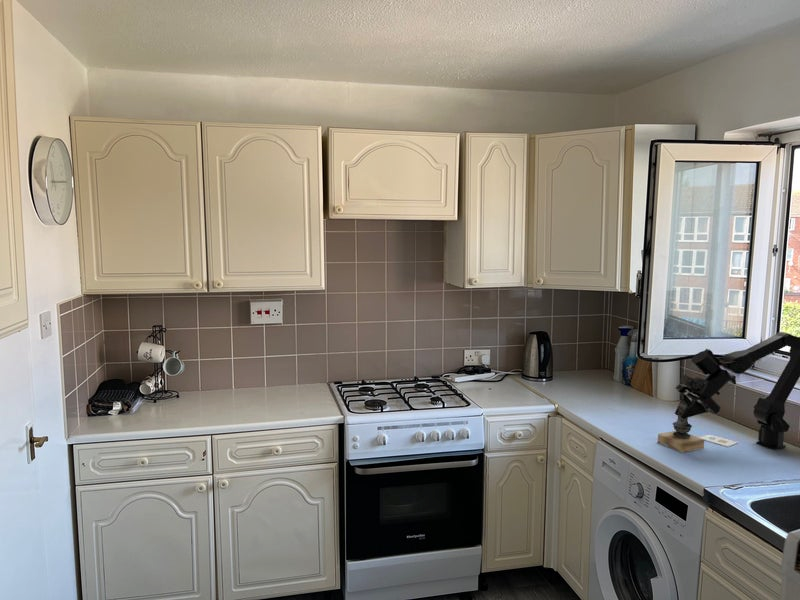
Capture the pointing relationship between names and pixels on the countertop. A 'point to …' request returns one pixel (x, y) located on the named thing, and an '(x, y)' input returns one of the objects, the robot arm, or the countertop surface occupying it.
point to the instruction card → (718, 440)
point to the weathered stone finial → (682, 423)
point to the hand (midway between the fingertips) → (678, 416)
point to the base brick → (680, 441)
